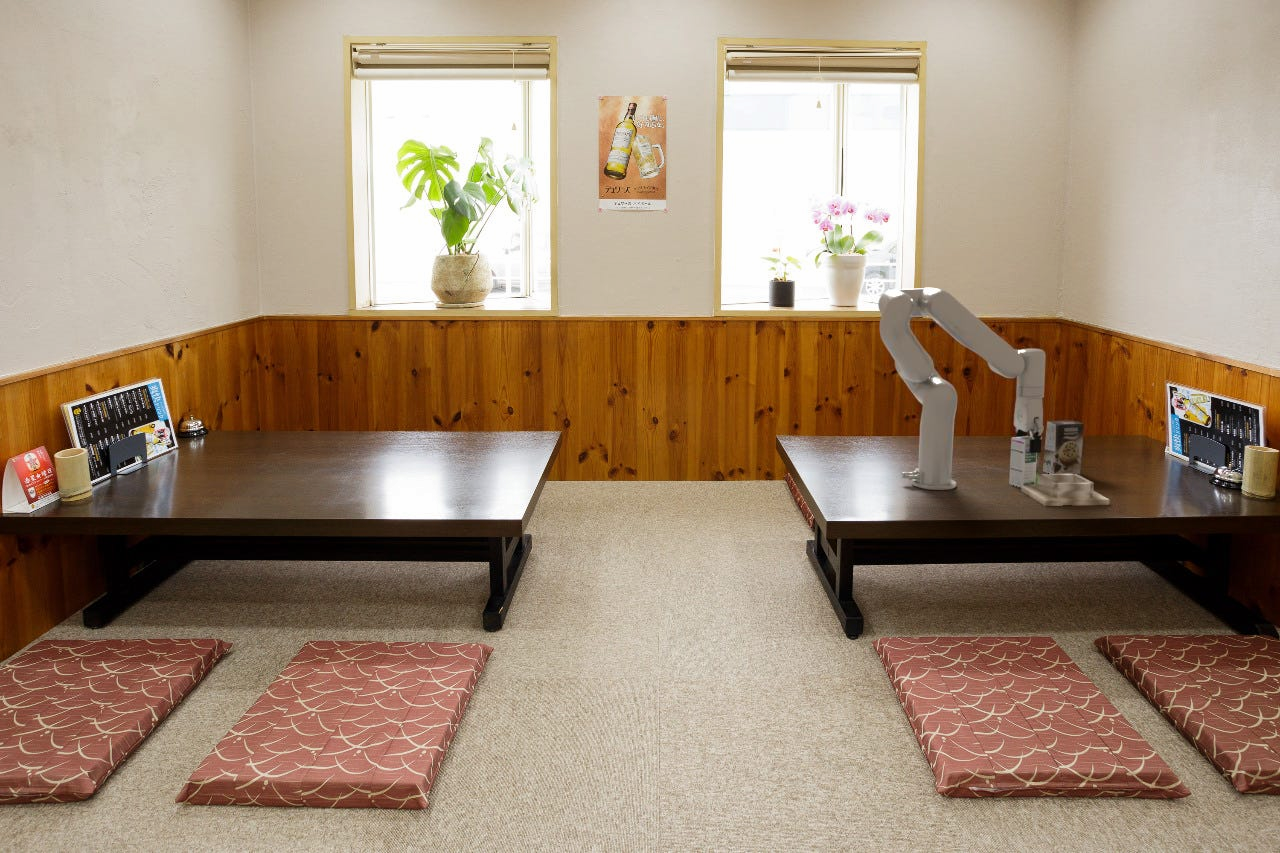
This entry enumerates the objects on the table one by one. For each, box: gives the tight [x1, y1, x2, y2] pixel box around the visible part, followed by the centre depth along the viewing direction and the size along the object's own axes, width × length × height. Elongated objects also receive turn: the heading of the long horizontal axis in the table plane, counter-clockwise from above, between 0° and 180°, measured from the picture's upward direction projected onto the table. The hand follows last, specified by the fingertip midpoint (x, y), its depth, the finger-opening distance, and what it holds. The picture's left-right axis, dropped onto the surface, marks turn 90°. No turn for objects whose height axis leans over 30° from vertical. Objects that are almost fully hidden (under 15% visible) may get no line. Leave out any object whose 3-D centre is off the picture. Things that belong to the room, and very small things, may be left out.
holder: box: [1020, 473, 1110, 507], centre depth 291 cm, size 18×16×6 cm
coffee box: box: [1042, 419, 1085, 475], centre depth 318 cm, size 9×6×16 cm
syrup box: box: [1009, 435, 1040, 489], centre depth 303 cm, size 6×6×14 cm
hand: (1028, 449), depth 303 cm, fingers open, 9 cm apart
